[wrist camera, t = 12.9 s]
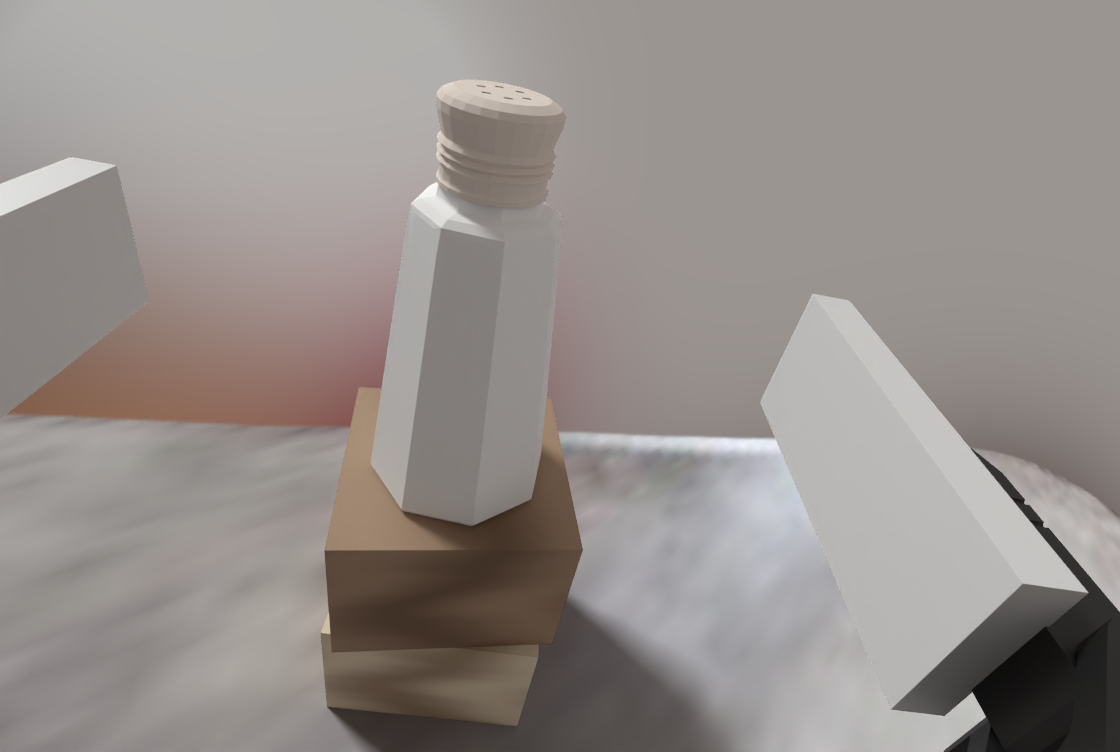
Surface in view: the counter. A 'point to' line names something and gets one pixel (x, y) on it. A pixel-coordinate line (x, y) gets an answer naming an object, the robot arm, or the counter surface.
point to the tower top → (446, 559)
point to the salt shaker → (474, 311)
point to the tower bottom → (432, 681)
